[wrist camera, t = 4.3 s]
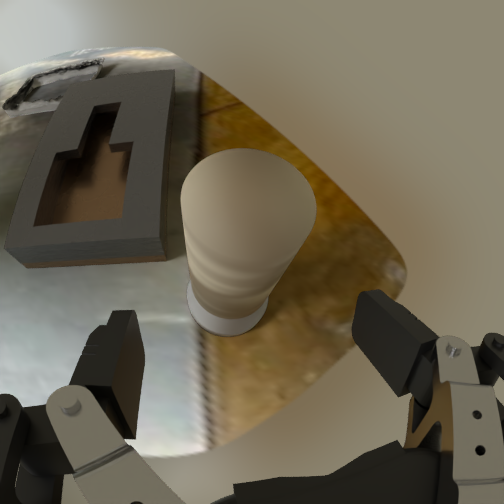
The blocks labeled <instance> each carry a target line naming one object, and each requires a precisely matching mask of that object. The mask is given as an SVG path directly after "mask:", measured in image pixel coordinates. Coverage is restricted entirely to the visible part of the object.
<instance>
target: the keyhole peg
mask: <svg viewBox="0 0 504 504" xmlns="http://www.w3.org/2000/svg"><path fill="white" fill-rule="evenodd" d="M181 210H182V219H183V228H184V236H185V243H186V251H187V258H188V265H189V272H190V280H189V283H188V288H187V301H188V305H189V309H190V312H191V314H192V316H193V318H194V320H195V321H196V322H197V323H198V325H199V326H201V327H202V328H203V329H204V330H206V331H207V332H209V333H211V334H214V335H217V336H222V337H233V336H238V335H241V334H243V333H246V332H247V331H249V330H250V329H252V328H253V327H254V326H255V325H256V324H257V323H258V321H259V320H260V319H261V317H262V316H263V315H264V312H265V310H266V308H267V304H268V296H269V294H270V293H271V291H272V290H273V288H274V287H275V285H276V284H277V282H278V281H279V279H280V278H281V276H282V275H283V273H284V272H285V270H286V269H287V267H288V266H289V264H290V263H291V261H292V260H293V258H294V257H295V255H296V254H297V252H298V251H299V249H300V247H301V246H302V244H303V243H304V241H305V240H306V238H307V237H308V235H309V233H310V232H311V230H312V228H313V225H314V222H315V219H316V201H315V196H314V194H313V191H312V189H311V187H310V185H309V183H308V181H307V180H306V179H305V177H304V176H303V175H302V174H301V173H300V172H299V171H298V170H297V169H296V168H295V167H294V166H293V165H291V164H290V163H289V162H287V161H285V160H284V159H282V158H280V157H278V156H276V155H274V154H271V153H268V152H265V151H261V150H256V149H246V148H239V149H229V150H224V151H220V152H218V153H215V154H212V155H210V156H208V157H206V158H205V159H203V160H202V161H200V162H199V163H198V164H197V165H196V166H195V167H194V168H193V169H192V170H191V171H190V172H189V174H188V175H187V177H186V179H185V181H184V183H183V186H182V190H181Z"/></svg>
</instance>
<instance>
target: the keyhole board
mask: <svg viewBox="0 0 504 504" xmlns="http://www.w3.org/2000/svg"><path fill="white" fill-rule="evenodd" d="M174 102H175V69H174V70H160V71H149V72H139V73H131V74H124V75H117V76H110V77H104V78H99V79H94V80H88V81H84V82H79V83H75V84H70V86H69V88H68V89H67V91H66V93H65V94H64V96H63V98H62V100H61V101H60V103H59V105H58V107H57V109H56V110H55V112H54V114H53V116H52V118H51V120H50V122H49V124H48V126H47V128H46V130H45V132H44V134H43V136H42V138H41V140H40V143H39V145H38V147H37V149H36V152H35V154H34V156H33V159H32V161H31V164H30V166H29V169H28V171H27V174H26V176H25V179H24V182H23V185H22V187H21V190H20V193H19V196H18V199H17V202H16V206H15V209H14V212H13V216H12V219H11V223H10V226H9V230H8V234H7V238H6V242H5V247H4V249H5V250H6V251H7V252H9V253H10V254H11V255H12V256H13V257H14V258H15V259H17V260H18V261H19V262H20V263H21V264H23V265H24V266H25V267H26V268H46V267H65V266H85V265H104V264H122V263H141V262H159V261H166V228H167V192H168V172H169V156H170V143H171V131H172V120H173V111H174Z"/></svg>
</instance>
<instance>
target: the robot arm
mask: <svg viewBox="0 0 504 504" xmlns="http://www.w3.org/2000/svg"><path fill="white" fill-rule="evenodd" d="M352 336H353V339H354V341H355V343H356V344H357V345H358V346H359V348H360V349H361V350H362V352H364V354H365V355H366V356H367V358H368V359H369V360H370V362H371V363H372V364H373V366H374V367H375V368H376V369H377V370H378V372H379V373H380V374H381V376H382V377H383V378H384V379H385V381H386V382H387V383H388V385H389V386H390V387H391V389H392V390H393V391H394V393H395V394H396V395H397V396H398V397H400V396H403V395H406V394H408V393H410V392H411V394H412V397H411V399H410V402H409V413H408V424H407V433H406V440H405V444H404V447H403V448H402V446H401V445H400V443H399V442H398V440H396V441H394V442H391V443H389V444H386V445H384V446H382V447H379V448H377V449H374V450H372V451H369V452H366V453H364V454H362V455H361V456H359V457H358V458H356V459H354V460H353V461H351V462H350V463H348V464H347V465H345V466H343V467H342V468H340V469H338V470H337V471H335V472H334V473H331V474H329V475H325V476H310V477H277V478H272V479H266V480H259V481H253V482H246V483H238V484H233V488H234V494H232V495H229V496H226V497H224V498H221V499H219V500H217V501H215V502H213V503H211V504H504V406H503V405H502V404H501V403H500V402H499V400H498V399H497V398H496V397H495V392H494V389H493V386H494V384H495V383H496V381H497V379H498V378H499V376H500V377H501V378H502V379H503V380H504V336H502V335H500V334H497V333H488V334H486V335H485V337H484V339H483V341H482V344H481V345H480V346H477V347H470V346H469V345H468V344H467V343H466V342H465V341H464V340H462V339H460V338H457V337H453V336H443V337H438V336H437V335H436V334H435V333H434V332H433V331H432V330H431V329H430V328H428V327H427V326H426V325H425V324H424V323H422V322H421V321H420V320H418V319H417V317H416V316H414V315H413V314H411V312H410V311H409V310H407V309H406V308H405V307H404V306H403V305H401V304H399V303H397V302H395V301H393V300H392V299H391V298H390V297H388V296H387V295H386V294H385V293H384V292H382V291H381V290H379V289H378V290H371V291H363V292H361V293H360V294H359V296H358V300H357V305H356V310H355V315H354V319H353V324H352ZM144 366H145V352H144V346H143V342H142V338H141V333H140V329H139V324H138V320H137V315H136V312H135V311H134V310H116V311H112V313H111V316H110V318H109V320H108V323H107V325H99V326H98V327H97V328H96V329H95V330H94V331H93V332H92V333H91V334H90V335H89V338H88V340H87V342H86V346H85V347H84V349H83V351H82V355H81V356H80V358H79V361H78V363H77V366H76V368H75V371H74V373H73V376H72V378H71V381H70V383H69V385H68V386H64V387H61V388H59V389H57V390H56V391H55V392H53V393H52V394H51V396H50V397H49V399H48V400H47V403H46V404H45V405H39V406H31V407H22V405H21V404H20V402H19V401H18V399H17V398H16V397H14V396H13V395H10V394H0V504H61V497H62V487H63V479H64V474H73V477H74V480H75V482H76V483H77V485H78V487H79V489H80V490H81V492H82V493H83V495H84V497H85V498H86V500H87V501H88V503H89V504H185V502H183V501H182V500H181V499H180V498H179V497H178V496H177V495H176V494H175V493H174V492H173V491H172V490H171V489H170V488H169V487H168V486H167V485H166V484H165V483H164V482H163V481H162V480H161V479H160V477H159V476H158V475H157V474H156V473H155V472H154V471H153V470H152V469H151V468H150V467H149V465H148V464H147V463H146V462H145V461H144V460H143V458H142V457H141V456H140V455H139V454H138V453H137V451H136V450H135V449H134V448H133V447H132V446H131V445H130V446H129V445H128V444H127V443H126V442H125V440H124V439H136V430H137V420H138V411H139V403H140V395H141V387H142V380H143V373H144ZM19 463H20V467H19ZM18 468H19V472H18ZM17 472H18V477H17V481H16V476H17ZM15 482H16V487H15Z"/></svg>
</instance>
